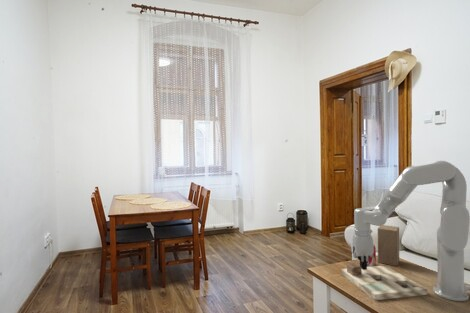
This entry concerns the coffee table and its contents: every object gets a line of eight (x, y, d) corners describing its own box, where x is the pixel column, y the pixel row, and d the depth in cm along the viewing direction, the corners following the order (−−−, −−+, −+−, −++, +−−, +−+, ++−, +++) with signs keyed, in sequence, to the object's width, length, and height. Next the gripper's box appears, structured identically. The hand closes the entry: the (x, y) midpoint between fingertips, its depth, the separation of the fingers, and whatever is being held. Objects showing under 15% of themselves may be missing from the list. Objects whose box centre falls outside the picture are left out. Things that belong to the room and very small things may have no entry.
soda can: (377, 267, 160) (377, 246, 160) (363, 266, 161) (363, 245, 161) (374, 262, 167) (373, 242, 167) (360, 262, 168) (360, 241, 168)
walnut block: (355, 270, 150) (355, 263, 150) (361, 274, 145) (361, 266, 145) (346, 271, 149) (346, 263, 149) (352, 275, 144) (352, 267, 144)
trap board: (384, 269, 157) (384, 265, 157) (427, 294, 129) (427, 289, 129) (340, 273, 153) (340, 269, 153) (374, 300, 125) (374, 294, 125)
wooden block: (380, 257, 176) (380, 224, 175) (399, 260, 170) (399, 226, 169) (377, 262, 167) (377, 228, 167) (397, 266, 162) (397, 230, 161)
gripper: (371, 230, 153) (372, 264, 153) (345, 232, 150) (346, 267, 150) (380, 233, 145) (381, 270, 145) (353, 236, 143) (354, 272, 143)
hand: (363, 268), depth 148 cm, fingers closed
